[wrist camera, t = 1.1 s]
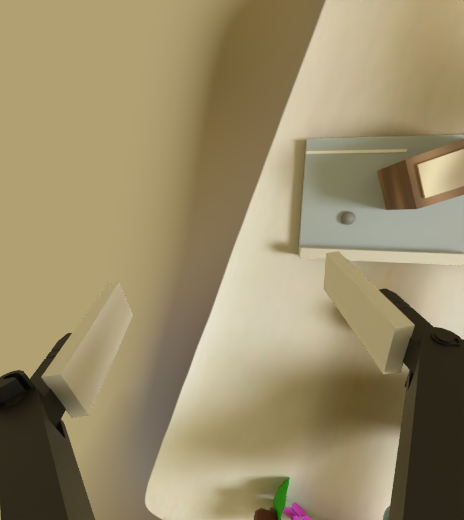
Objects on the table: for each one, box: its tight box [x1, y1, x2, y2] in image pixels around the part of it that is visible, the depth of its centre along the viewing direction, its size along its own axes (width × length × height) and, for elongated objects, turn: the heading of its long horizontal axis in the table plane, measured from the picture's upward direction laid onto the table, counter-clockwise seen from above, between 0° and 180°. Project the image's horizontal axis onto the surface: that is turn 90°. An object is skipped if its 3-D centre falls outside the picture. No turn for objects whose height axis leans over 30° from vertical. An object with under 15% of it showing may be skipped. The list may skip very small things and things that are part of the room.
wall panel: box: [298, 134, 464, 265], centre depth 37 cm, size 24×18×3 cm
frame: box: [377, 139, 464, 210], centre depth 31 cm, size 12×6×8 cm, turn 109°
